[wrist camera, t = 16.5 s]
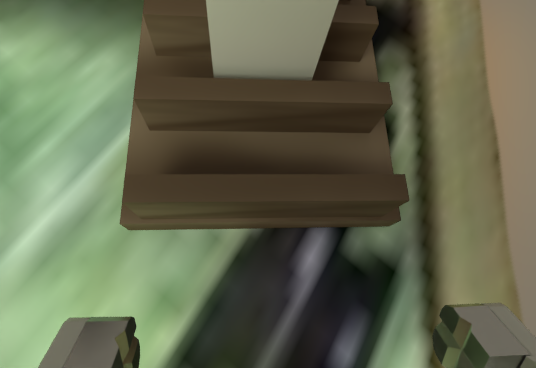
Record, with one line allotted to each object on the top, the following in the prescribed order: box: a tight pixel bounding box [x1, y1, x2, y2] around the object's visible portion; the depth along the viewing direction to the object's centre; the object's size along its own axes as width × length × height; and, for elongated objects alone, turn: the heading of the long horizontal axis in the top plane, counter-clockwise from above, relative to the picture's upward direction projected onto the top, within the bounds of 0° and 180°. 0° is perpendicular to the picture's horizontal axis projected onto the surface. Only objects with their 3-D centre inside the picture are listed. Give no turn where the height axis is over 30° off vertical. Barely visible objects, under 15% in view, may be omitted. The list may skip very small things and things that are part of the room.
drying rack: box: [120, 0, 409, 230], centre depth 19 cm, size 16×14×4 cm
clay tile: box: [206, 0, 339, 80], centre depth 15 cm, size 2×5×10 cm, turn 92°
